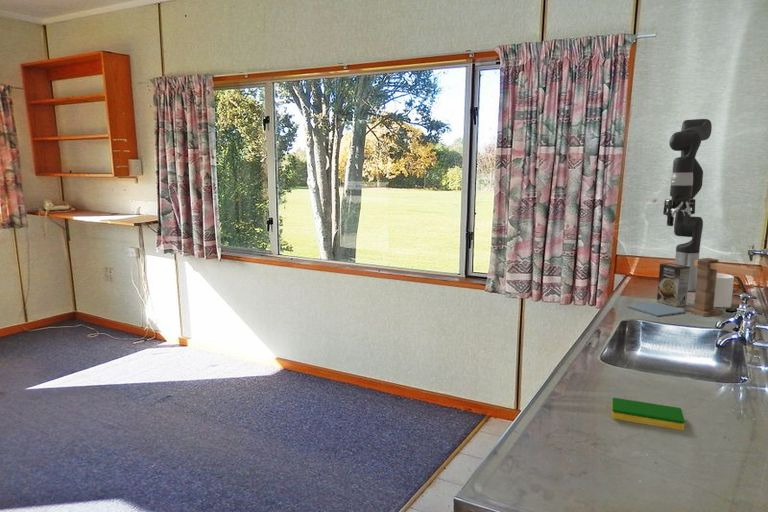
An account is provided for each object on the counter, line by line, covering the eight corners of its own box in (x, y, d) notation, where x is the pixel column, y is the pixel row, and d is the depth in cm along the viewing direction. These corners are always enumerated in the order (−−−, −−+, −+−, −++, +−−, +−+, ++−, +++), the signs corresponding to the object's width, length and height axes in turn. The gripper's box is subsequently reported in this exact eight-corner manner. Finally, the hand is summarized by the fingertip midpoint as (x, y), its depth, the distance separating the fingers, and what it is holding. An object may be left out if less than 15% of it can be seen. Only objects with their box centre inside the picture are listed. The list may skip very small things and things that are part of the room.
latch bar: (699, 265, 199) (700, 260, 199) (758, 275, 179) (758, 269, 178) (694, 265, 198) (694, 260, 198) (752, 276, 178) (753, 270, 177)
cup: (721, 301, 214) (724, 272, 212) (737, 308, 203) (740, 278, 201) (691, 300, 215) (694, 272, 213) (705, 307, 204) (708, 278, 202)
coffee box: (655, 302, 213) (658, 263, 210) (666, 300, 216) (669, 262, 213) (676, 307, 205) (679, 267, 202) (687, 305, 207) (690, 266, 205)
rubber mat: (654, 304, 209) (654, 302, 209) (685, 312, 197) (685, 311, 196) (627, 307, 205) (627, 306, 204) (657, 316, 192) (657, 315, 192)
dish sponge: (612, 406, 120) (612, 396, 120) (680, 417, 114) (681, 407, 114) (611, 420, 114) (612, 409, 113) (683, 432, 108) (684, 421, 108)
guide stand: (702, 308, 203) (707, 256, 199) (722, 313, 195) (727, 260, 192) (684, 311, 199) (689, 258, 196) (703, 316, 192) (708, 261, 188)
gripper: (676, 184, 196) (673, 227, 199) (703, 184, 201) (699, 225, 204) (659, 184, 203) (656, 225, 206) (686, 183, 208) (682, 224, 211)
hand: (678, 225), depth 205 cm, fingers open, 8 cm apart
